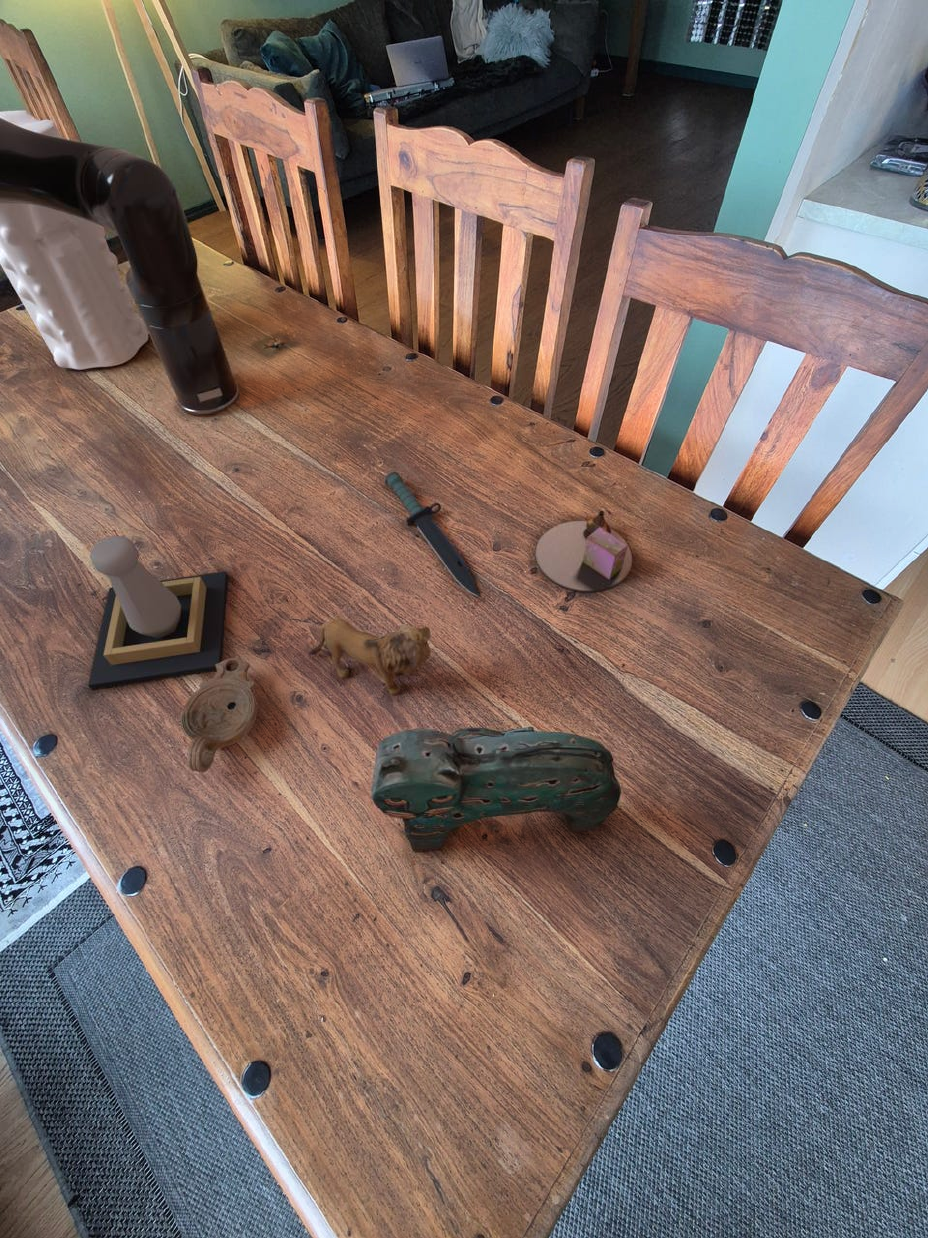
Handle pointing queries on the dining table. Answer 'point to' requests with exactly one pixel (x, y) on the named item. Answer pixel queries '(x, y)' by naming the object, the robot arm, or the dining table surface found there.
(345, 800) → the dining table surface
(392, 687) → the lion figurine
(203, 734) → the oil lamp
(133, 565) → the salt shaker
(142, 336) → the vase
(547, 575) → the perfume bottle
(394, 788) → the ceramic cat
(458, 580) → the knife
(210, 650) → the pad
